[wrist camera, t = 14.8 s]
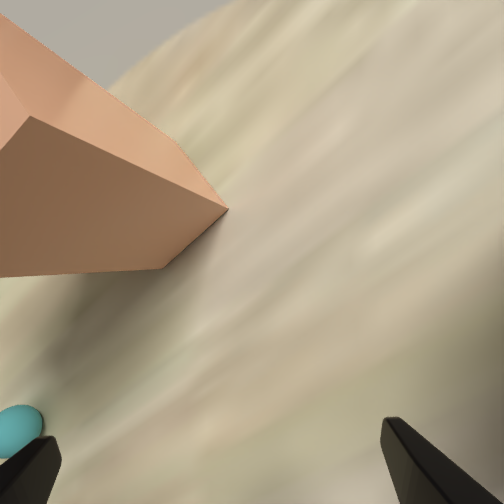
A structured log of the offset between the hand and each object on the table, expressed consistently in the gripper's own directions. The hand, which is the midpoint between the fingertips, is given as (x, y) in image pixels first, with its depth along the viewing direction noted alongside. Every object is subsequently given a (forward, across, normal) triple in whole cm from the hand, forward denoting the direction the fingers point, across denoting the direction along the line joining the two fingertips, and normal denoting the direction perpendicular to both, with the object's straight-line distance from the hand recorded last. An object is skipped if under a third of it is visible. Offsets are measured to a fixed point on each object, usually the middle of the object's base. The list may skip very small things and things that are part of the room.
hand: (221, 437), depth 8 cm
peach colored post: (+13, +4, -4) cm, 14 cm away
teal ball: (+10, +14, +10) cm, 20 cm away
